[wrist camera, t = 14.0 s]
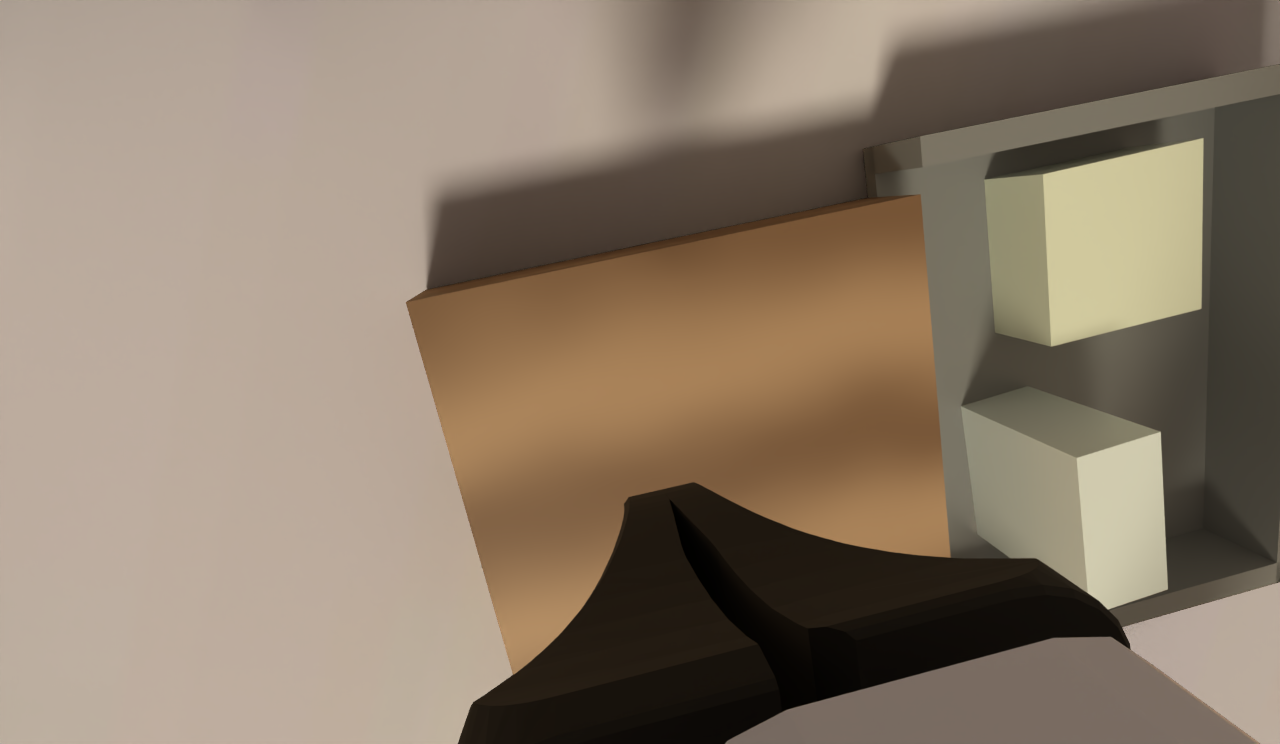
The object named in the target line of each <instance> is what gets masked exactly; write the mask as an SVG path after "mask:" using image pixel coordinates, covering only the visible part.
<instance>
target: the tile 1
mask: <svg viewBox="0 0 1280 744" xmlns="http://www.w3.org/2000/svg"><path fill="white" fill-rule="evenodd" d="M961 411H962V419H963V426H964V434H965V442H966V449H967V457H968V465H969V472H970V480H971V488H972V496H973V503H974V511H975V519H976V526H977V534H978V535H979V536H980V537H982V538H983V539H985V540H986V541H987V542H989V543H990V544H992V545H993V546H994V547H996V548H997V549H998V550H1000V551H1001V552H1003V553H1004V554H1005V555H1007V556H1008V557H1009V558H1036V559H1038V560H1040V561H1041V562H1043V563H1044V564H1046V565H1047V566H1049V567H1050V568H1052V569H1053V570H1055V571H1056V572H1058V573H1059V574H1061V575H1062V576H1064V577H1065V578H1066V579H1068V580H1069V581H1071V582H1072V583H1074V584H1075V585H1077V586H1078V587H1080V588H1081V589H1082V590H1084V591H1085V592H1087V593H1088V594H1090V595H1091V596H1093V597H1094V598H1096V599H1097V600H1099V601H1100V602H1101V603H1102V604H1103V605H1104V606H1105V607H1106V608H1107V609H1111V608H1114V607H1117V606H1120V605H1123V604H1126V603H1129V602H1132V601H1135V600H1138V599H1141V598H1144V597H1147V596H1150V595H1153V594H1156V593H1159V592H1162V591H1165V590H1168V582H1167V560H1166V538H1165V516H1164V495H1163V473H1162V451H1161V432H1160V431H1157V430H1154V429H1151V428H1148V427H1145V426H1142V425H1140V424H1137V423H1134V422H1131V421H1128V420H1125V419H1122V418H1119V417H1116V416H1113V415H1110V414H1108V413H1105V412H1102V411H1099V410H1096V409H1093V408H1090V407H1087V406H1084V405H1081V404H1078V403H1076V402H1073V401H1070V400H1067V399H1064V398H1061V397H1058V396H1055V395H1052V394H1049V393H1047V392H1044V391H1041V390H1038V389H1035V388H1032V387H1029V386H1026V387H1023V388H1020V389H1017V390H1013V391H1010V392H1007V393H1003V394H1000V395H997V396H993V397H990V398H987V399H983V400H980V401H977V402H973V403H970V404H967V405H963V406H961Z"/></svg>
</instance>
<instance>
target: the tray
mask: <svg viewBox="0 0 1280 744" xmlns="http://www.w3.org/2000/svg"><path fill="white" fill-rule="evenodd" d="M1200 138H1204V139H1203V221H1202V303H1201V309H1199V310H1195V311H1191V312H1187V313H1183V314H1179V315H1175V316H1171V317H1167V318H1163V319H1159V320H1155V321H1151V322H1147V323H1143V324H1139V325H1135V326H1131V327H1127V328H1123V329H1119V330H1115V331H1111V332H1107V333H1103V334H1099V335H1096V336H1092V337H1088V338H1084V339H1080V340H1076V341H1072V342H1068V343H1064V344H1060V345H1056V346H1052V347H1051V346H1047V345H1043V344H1039V343H1035V342H1031V341H1027V340H1023V339H1019V338H1015V337H1011V336H1007V335H1003V334H999V333H995V325H994V311H993V297H992V283H991V268H990V254H989V240H988V226H987V212H986V197H985V183H984V180H985V179H989V178H994V177H998V176H1003V175H1007V174H1011V173H1016V172H1020V171H1025V170H1029V169H1034V168H1038V167H1043V166H1047V165H1051V164H1056V163H1060V162H1065V161H1069V160H1074V159H1078V158H1083V157H1087V156H1091V155H1096V154H1100V153H1105V152H1109V151H1114V150H1118V149H1123V148H1127V147H1135V146H1143V145H1151V144H1159V143H1168V142H1176V141H1184V140H1192V139H1200ZM863 154H864V164H865V174H866V184H867V193H868V198H871V197H887V196H902V195H917V194H921V204H922V216H923V228H924V241H925V253H926V265H927V277H928V289H929V301H930V314H931V326H932V338H933V350H934V362H935V374H936V386H937V399H938V411H939V423H940V435H941V447H942V459H943V471H944V484H945V496H946V508H947V520H948V532H949V544H950V557H951V558H1009V557H1008V556H1007V555H1005V554H1004V553H1003V552H1001V551H1000V550H998V549H997V548H996V547H994V546H993V545H992V544H990V543H989V542H987V541H986V540H985V539H983V538H982V537H980V536H979V535H978V534H977V526H976V519H975V511H974V503H973V496H972V488H971V480H970V472H969V465H968V457H967V449H966V442H965V434H964V426H963V419H962V411H961V406H963V405H967V404H970V403H973V402H977V401H980V400H983V399H987V398H990V397H993V396H997V395H1000V394H1003V393H1007V392H1010V391H1013V390H1017V389H1020V388H1023V387H1026V386H1029V387H1032V388H1035V389H1038V390H1041V391H1044V392H1047V393H1049V394H1052V395H1055V396H1058V397H1061V398H1064V399H1067V400H1070V401H1073V402H1076V403H1078V404H1081V405H1084V406H1087V407H1090V408H1093V409H1096V410H1099V411H1102V412H1105V413H1108V414H1110V415H1113V416H1116V417H1119V418H1122V419H1125V420H1128V421H1131V422H1134V423H1137V424H1140V425H1142V426H1145V427H1148V428H1151V429H1154V430H1157V431H1160V432H1161V451H1162V473H1163V495H1164V516H1165V538H1166V560H1167V582H1168V590H1165V591H1162V592H1159V593H1156V594H1153V595H1150V596H1147V597H1144V598H1141V599H1138V600H1135V601H1132V602H1129V603H1126V604H1123V605H1120V606H1117V607H1114V608H1111V609H1108V610H1109V611H1110V612H1111V613H1112V614H1113V615H1114V616H1115V617H1116V618H1117V619H1118V620H1119V622H1120V625H1121V627H1124V626H1128V625H1131V624H1135V623H1138V622H1142V621H1145V620H1149V619H1152V618H1156V617H1159V616H1163V615H1166V614H1170V613H1173V612H1177V611H1180V610H1184V609H1187V608H1191V607H1194V606H1198V605H1201V604H1205V603H1208V602H1212V601H1215V600H1219V599H1222V598H1226V597H1229V596H1233V595H1236V594H1240V593H1243V592H1247V591H1250V590H1254V589H1257V588H1261V587H1264V586H1268V585H1271V584H1275V583H1278V582H1280V64H1278V65H1273V66H1268V67H1263V68H1258V69H1253V70H1248V71H1243V72H1238V73H1233V74H1228V75H1223V76H1218V77H1213V78H1208V79H1203V80H1198V81H1193V82H1188V83H1183V84H1178V85H1173V86H1168V87H1163V88H1158V89H1153V90H1148V91H1143V92H1138V93H1133V94H1128V95H1123V96H1118V97H1113V98H1108V99H1104V100H1099V101H1094V102H1089V103H1084V104H1079V105H1074V106H1069V107H1064V108H1059V109H1054V110H1049V111H1044V112H1039V113H1034V114H1029V115H1024V116H1019V117H1014V118H1009V119H1004V120H999V121H994V122H989V123H984V124H979V125H974V126H969V127H964V128H959V129H954V130H949V131H944V132H939V133H934V134H929V135H924V136H919V137H915V138H910V139H906V140H901V141H896V142H892V143H887V144H883V145H878V146H874V147H869V148H864V149H863Z"/></svg>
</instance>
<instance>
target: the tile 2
mask: <svg viewBox="0 0 1280 744" xmlns="http://www.w3.org/2000/svg"><path fill="white" fill-rule="evenodd" d="M1203 139H1204V138H1200V139H1192V140H1184V141H1176V142H1168V143H1159V144H1151V145H1143V146H1135V147H1127V148H1123V149H1118V150H1114V151H1109V152H1105V153H1100V154H1096V155H1091V156H1087V157H1083V158H1078V159H1074V160H1069V161H1065V162H1060V163H1056V164H1051V165H1047V166H1043V167H1038V168H1034V169H1029V170H1025V171H1020V172H1016V173H1011V174H1007V175H1003V176H998V177H994V178H989V179H985V180H984V183H985V197H986V212H987V226H988V240H989V254H990V268H991V283H992V297H993V311H994V325H995V333H999V334H1003V335H1007V336H1011V337H1015V338H1019V339H1023V340H1027V341H1031V342H1035V343H1039V344H1043V345H1047V346H1051V347H1052V346H1056V345H1060V344H1064V343H1068V342H1072V341H1076V340H1080V339H1084V338H1088V337H1092V336H1096V335H1099V334H1103V333H1107V332H1111V331H1115V330H1119V329H1123V328H1127V327H1131V326H1135V325H1139V324H1143V323H1147V322H1151V321H1155V320H1159V319H1163V318H1167V317H1171V316H1175V315H1179V314H1183V313H1187V312H1191V311H1195V310H1199V309H1201V303H1202V221H1203Z"/></svg>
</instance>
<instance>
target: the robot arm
mask: <svg viewBox="0 0 1280 744" xmlns="http://www.w3.org/2000/svg"><path fill="white" fill-rule="evenodd" d="M458 744H1260V743H1259V742H1257V741H1256V740H1255V739H1253V738H1252V737H1251V736H1249V735H1248V734H1247V733H1245V732H1244V731H1242V730H1241V729H1240V728H1238V727H1237V726H1236V725H1234V724H1233V723H1231V722H1230V721H1229V720H1227V719H1226V718H1225V717H1223V716H1222V715H1221V714H1219V713H1218V712H1216V711H1215V710H1214V709H1212V708H1211V707H1210V706H1208V705H1207V704H1205V703H1204V702H1203V701H1201V700H1200V699H1199V698H1197V697H1196V696H1195V695H1193V694H1192V693H1190V692H1189V691H1188V690H1186V689H1185V688H1184V687H1182V686H1181V685H1179V684H1178V683H1177V682H1175V681H1174V680H1173V679H1171V678H1170V677H1169V676H1167V675H1166V674H1164V673H1163V672H1162V671H1160V670H1159V669H1158V668H1156V667H1155V666H1153V665H1152V664H1151V663H1149V662H1148V661H1146V660H1145V659H1143V658H1142V657H1140V656H1139V655H1137V654H1136V653H1134V652H1133V651H1131V649H1130V643H1129V641H1128V639H1127V637H1126V635H1125V633H1124V631H1123V629H1122V627H1121V625H1120V622H1119V620H1118V619H1117V618H1116V617H1115V616H1114V615H1113V614H1112V613H1111V612H1110V611H1109V610H1108V609H1107V608H1106V607H1105V606H1104V605H1103V604H1102V603H1101V602H1100V601H1099V600H1097V599H1096V598H1094V597H1093V596H1091V595H1090V594H1088V593H1087V592H1085V591H1084V590H1082V589H1081V588H1080V587H1078V586H1077V585H1075V584H1074V583H1072V582H1071V581H1069V580H1068V579H1066V578H1065V577H1064V576H1062V575H1061V574H1059V573H1058V572H1056V571H1055V570H1053V569H1052V568H1050V567H1049V566H1047V565H1046V564H1044V563H1043V562H1041V561H1040V560H1038V559H1036V558H949V557H935V556H922V555H912V554H904V553H895V552H888V551H883V550H877V549H871V548H865V547H860V546H855V545H850V544H845V543H841V542H837V541H833V540H830V539H826V538H823V537H819V536H816V535H812V534H808V533H805V532H802V531H799V530H796V529H793V528H791V527H788V526H786V525H783V524H781V523H778V522H775V521H773V520H770V519H768V518H766V517H763V516H761V515H759V514H757V513H754V512H752V511H750V510H748V509H746V508H744V507H742V506H740V505H738V504H736V503H734V502H732V501H730V500H728V499H726V498H724V497H722V496H720V495H719V494H717V493H715V492H713V491H711V490H709V489H707V488H705V487H704V486H702V485H700V484H697V483H695V482H692V483H688V484H683V485H679V486H675V487H670V488H666V489H662V490H657V491H653V492H648V493H644V494H640V495H635V496H631V497H628V499H627V500H626V502H625V503H624V516H623V521H622V525H621V529H620V532H619V535H618V538H617V541H616V544H615V547H614V550H613V552H612V555H611V557H610V559H609V561H608V563H607V565H606V568H605V570H604V572H603V574H602V576H601V578H600V580H599V582H598V583H597V585H596V587H595V589H594V590H593V592H592V594H591V595H590V597H589V598H588V600H587V601H586V603H585V604H584V606H583V607H582V609H581V610H580V611H579V612H578V614H577V615H576V616H575V617H574V618H573V620H572V621H571V622H570V623H569V624H568V625H567V627H566V628H565V629H564V630H563V631H562V632H561V633H560V634H559V636H558V637H557V638H555V639H554V640H553V641H552V642H551V643H550V644H549V645H548V646H547V647H546V648H545V649H544V650H543V651H542V652H541V653H540V654H538V655H537V656H536V657H535V658H534V659H533V660H532V661H530V662H529V663H528V664H527V665H526V666H524V667H523V668H522V669H521V670H519V671H518V672H517V673H515V674H514V675H512V676H511V677H510V678H508V679H507V680H505V681H504V682H502V683H501V684H500V685H498V686H497V687H495V688H494V689H493V690H491V691H490V692H488V693H487V694H485V695H484V696H483V697H481V698H479V699H478V700H476V701H475V702H473V704H472V705H471V707H470V710H469V713H468V716H467V719H466V721H465V724H464V727H463V730H462V733H461V736H460V739H459V742H458Z"/></svg>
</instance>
